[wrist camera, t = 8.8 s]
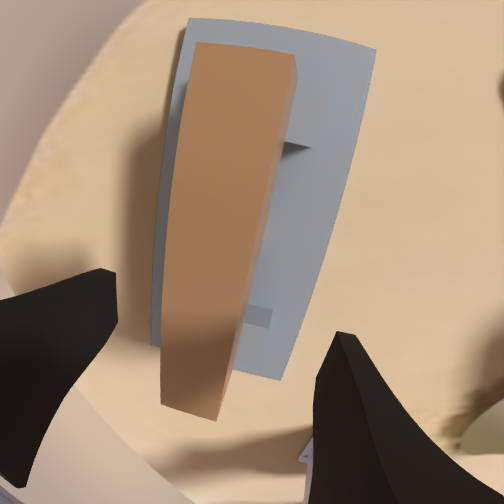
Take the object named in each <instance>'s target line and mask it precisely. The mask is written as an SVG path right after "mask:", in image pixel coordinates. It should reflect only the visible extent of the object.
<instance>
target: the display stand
mask: <svg viewBox="0 0 504 504" xmlns="http://www.w3.org/2000/svg"><path fill="white" fill-rule="evenodd" d="M196 42H203V43H216V44H227V45H236V46H244V47H252V48H259V49H265V50H272V51H277V52H283V53H288V54H294V55H295V60H296V66H297V73H298V82H297V86H296V91H295V96H294V100H293V105H292V110H291V114H290V119H289V124H288V128H287V133H286V137H285V142H284V146H283V151H282V156H281V160H280V165H279V169H278V174H277V178H276V183H275V187H274V192H273V196H272V201H271V205H270V210H269V214H268V219H267V223H266V228H265V232H264V237H263V241H262V246H261V250H260V255H259V259H258V263H257V268H256V272H255V277H254V281H253V286H252V290H251V294H250V299H249V303H248V307H247V312H246V316H245V321H244V325H243V329H242V334H241V338H240V342H239V347H238V351H237V355H236V360H235V363H234V366H233V369H234V370H238V371H242V372H246V373H250V374H254V375H258V376H262V377H266V378H271V379H275V380H279V381H281V379H282V376H283V373H284V371H285V368H286V366H287V363H288V360H289V358H290V355H291V352H292V350H293V347H294V344H295V342H296V339H297V336H298V333H299V330H300V328H301V325H302V322H303V319H304V316H305V314H306V311H307V308H308V305H309V302H310V299H311V296H312V293H313V290H314V287H315V284H316V281H317V278H318V275H319V272H320V269H321V266H322V263H323V259H324V256H325V253H326V250H327V247H328V243H329V240H330V237H331V233H332V230H333V227H334V223H335V220H336V217H337V213H338V210H339V206H340V203H341V199H342V196H343V192H344V188H345V185H346V181H347V177H348V174H349V170H350V166H351V162H352V158H353V154H354V150H355V146H356V142H357V138H358V134H359V130H360V126H361V121H362V117H363V113H364V108H365V104H366V99H367V95H368V90H369V85H370V80H371V76H372V71H373V66H374V60H375V55H376V49H373V48H369V47H366V46H363V45H360V44H356V43H353V42H349V41H345V40H342V39H338V38H334V37H330V36H326V35H321V34H317V33H313V32H308V31H303V30H298V29H292V28H287V27H281V26H275V25H268V24H261V23H253V22H244V21H234V20H222V19H205V18H189V19H188V23H187V27H186V31H185V36H184V40H183V44H182V49H181V53H180V58H179V63H178V68H177V73H176V78H175V83H174V88H173V94H172V99H171V105H170V111H169V117H168V124H167V130H166V137H165V144H164V151H163V159H162V167H161V175H160V184H159V193H158V203H157V214H156V226H155V239H154V255H153V274H152V301H151V345H154V346H157V347H160V348H161V316H162V294H163V277H164V262H165V249H166V237H167V226H168V216H169V206H170V197H171V189H172V180H173V173H174V165H175V158H176V151H177V144H178V137H179V131H180V125H181V118H182V112H183V107H184V101H185V96H186V90H187V85H188V80H189V75H190V70H191V65H192V60H193V55H194V51H195V46H196Z"/></svg>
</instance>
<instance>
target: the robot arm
mask: <svg viewBox="0 0 504 504" xmlns="http://www.w3.org/2000/svg"><path fill="white" fill-rule="evenodd" d="M117 323H118V313H117V294H116V273H115V272H111V271H108V270H105V269H102V268H100V269H95V270H92V271H89V272H85V273H82V274H80V275H77V276H74V277H71V278H68V279H66V280H63V281H60V282H57V283H54V284H52V285H49V286H46V287H43V288H40V289H37V290H34V291H31V292H28V293H25V294H22V295H18V296H15V297H11V298H7V299H3V300H0V476H2V477H3V478H4V479H5V480H7V481H8V482H9V483H10V484H12V485H13V486H14V487H16V488H24V487H26V485H27V480H28V477H29V474H30V471H31V468H32V465H33V462H34V459H35V457H36V454H37V451H38V449H39V447H40V444H41V442H42V440H43V437H44V435H45V433H46V431H47V429H48V427H49V425H50V423H51V420H52V419H53V417H54V415H55V413H56V411H57V410H58V408H59V406H60V404H61V402H62V401H63V399H64V397H65V396H66V394H67V393H68V391H69V390H70V388H71V387H72V386H73V385H74V383H75V382H76V381H77V379H78V378H79V377H80V376H81V374H82V373H83V372H84V371H85V369H86V368H87V367H88V365H89V364H90V363H91V362H92V360H93V359H94V358H95V357H96V355H97V354H98V353H99V351H100V350H101V349H102V348H103V346H104V345H105V343H106V342H107V340H108V339H109V337H110V335H111V334H112V332H113V330H114V328H115V326H116V325H117ZM298 461H299V462H302V463H307V469H306V482H305V493H304V503H303V504H504V496H503V495H502V494H500V493H498V492H497V491H495V490H493V489H492V488H490V487H489V486H487V485H485V484H484V483H482V482H481V481H479V480H478V479H476V478H475V477H473V476H472V475H471V474H470V473H468V472H467V471H466V470H464V469H463V468H462V467H460V466H459V465H458V464H457V463H456V462H455V461H453V460H452V459H451V458H450V457H449V456H448V455H447V454H446V453H444V452H443V451H442V450H441V449H440V448H439V447H438V446H437V445H436V444H435V443H434V442H433V441H432V440H431V439H430V438H429V437H428V436H427V435H426V434H425V433H424V431H423V430H422V429H421V428H420V427H419V426H418V424H417V423H416V422H415V421H414V420H413V419H412V418H411V416H410V415H409V414H408V413H407V411H406V410H405V409H404V407H403V406H402V405H401V403H400V402H399V401H398V399H397V398H396V397H395V395H394V394H393V392H392V391H391V390H390V388H389V387H388V385H387V384H386V382H385V381H384V379H383V378H382V376H381V375H380V373H379V371H378V370H377V368H376V367H375V365H374V364H373V362H372V360H371V359H370V357H369V356H368V354H367V352H366V351H365V349H364V348H363V346H362V344H361V343H360V341H359V340H358V338H357V337H356V335H353V334H348V333H344V332H339V331H337V332H336V334H335V336H334V339H333V341H332V343H331V346H330V348H329V350H328V352H327V355H326V357H325V359H324V361H323V363H322V366H321V368H320V370H319V372H318V374H317V376H316V383H315V391H314V400H313V437H312V438H311V440H310V441H309V443H308V444H307V446H306V447H305V449H304V450H303V452H302V453H301V455H300V456H299V458H298ZM0 504H24V503H22V502H21V501H20V500H18V499H17V498H16V497H14V496H13V495H12V494H10V493H9V492H8V491H7V490H5V489H4V488H3V487H1V486H0Z"/></svg>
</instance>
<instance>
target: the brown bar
mask: <svg viewBox="0 0 504 504" xmlns="http://www.w3.org/2000/svg"><path fill="white" fill-rule="evenodd" d="M297 82H298V73H297V66H296V60H295V55H294V54H288V53H283V52H277V51H272V50H265V49H259V48H252V47H244V46H236V45H227V44H216V43H203V42H196V46H195V51H194V55H193V60H192V65H191V70H190V75H189V80H188V85H187V90H186V96H185V101H184V107H183V112H182V118H181V125H180V131H179V137H178V144H177V151H176V158H175V165H174V173H173V180H172V189H171V197H170V206H169V216H168V226H167V237H166V249H165V262H164V277H163V294H162V316H161V357H160V389H161V404H162V405H165V406H168V407H171V408H174V409H177V410H180V411H183V412H186V413H189V414H193V415H196V416H199V417H203V418H206V419H209V420H213V421H216V420H217V417H218V414H219V411H220V408H221V404H222V401H223V398H224V395H225V392H226V389H227V385H228V382H229V379H230V376H231V372H232V369H233V366H234V363H235V360H236V355H237V351H238V347H239V342H240V338H241V334H242V329H243V325H244V321H245V316H246V312H247V307H248V303H249V299H250V294H251V290H252V286H253V281H254V277H255V272H256V268H257V263H258V259H259V255H260V250H261V246H262V241H263V237H264V232H265V228H266V223H267V219H268V214H269V210H270V205H271V201H272V196H273V192H274V187H275V183H276V178H277V174H278V169H279V165H280V160H281V156H282V151H283V146H284V142H285V137H286V133H287V128H288V124H289V119H290V114H291V110H292V105H293V100H294V96H295V91H296V86H297Z"/></svg>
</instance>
